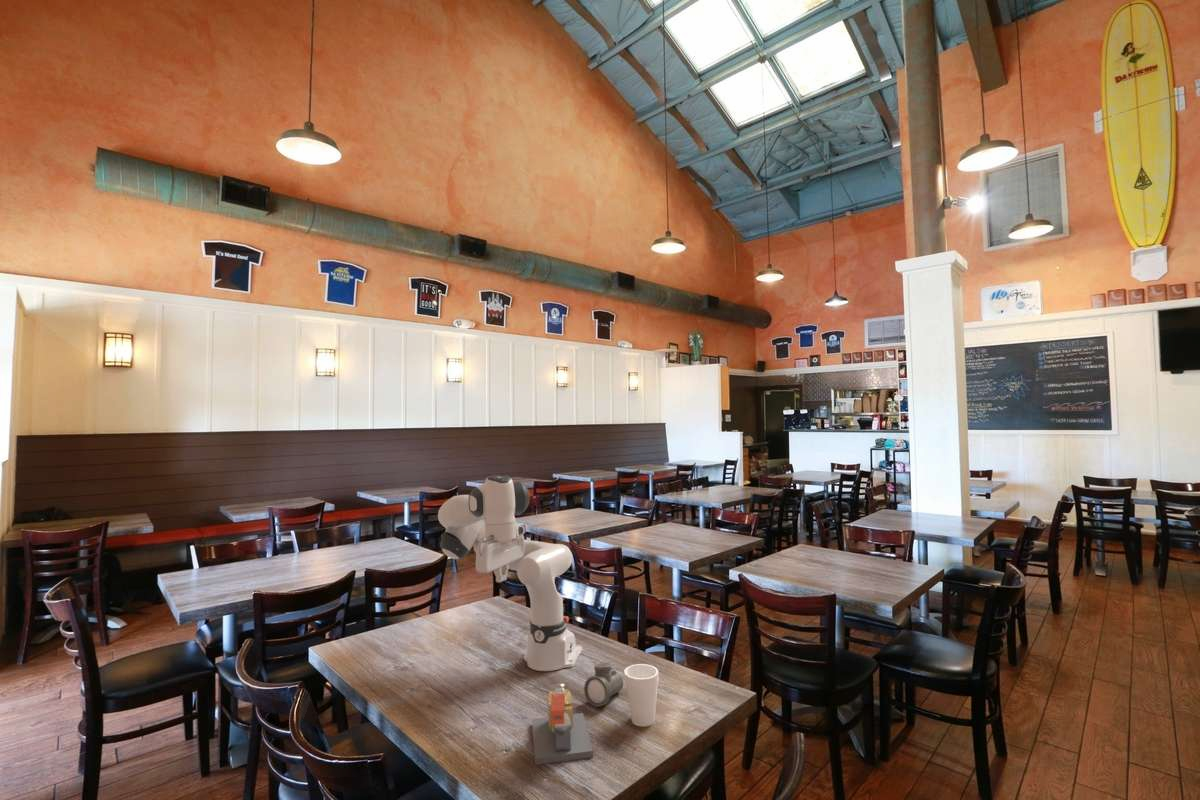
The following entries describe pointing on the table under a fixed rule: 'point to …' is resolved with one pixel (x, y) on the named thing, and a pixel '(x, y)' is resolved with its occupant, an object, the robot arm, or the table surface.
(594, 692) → the pipe fitting
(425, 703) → the table surface
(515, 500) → the robot arm
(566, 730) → the pipe and valve
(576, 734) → the slate plate
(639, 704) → the foam cup
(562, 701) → the valve lever
